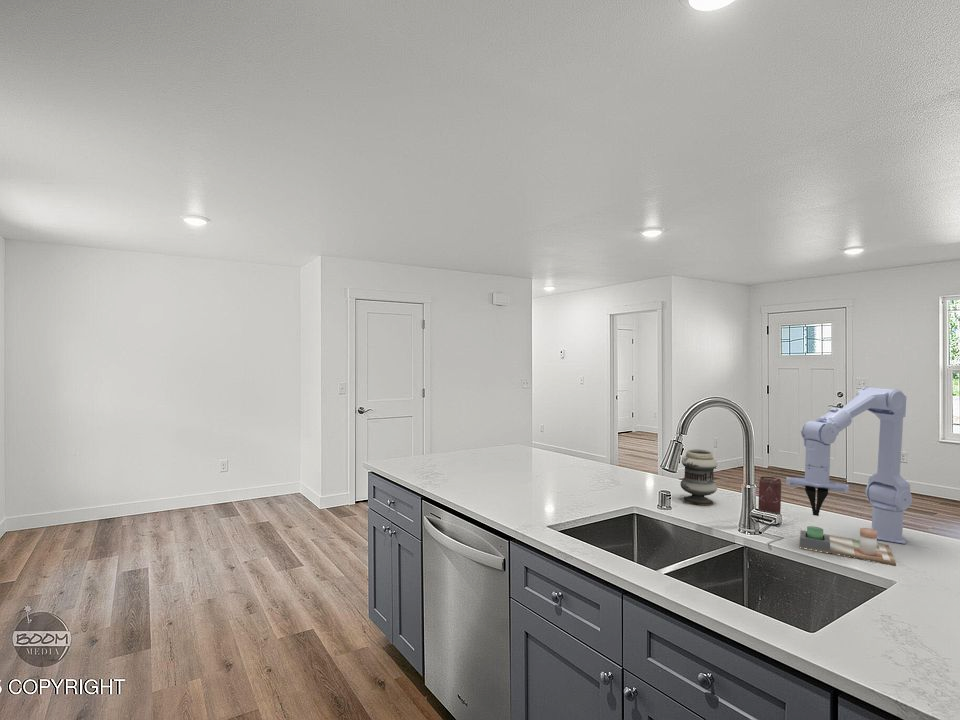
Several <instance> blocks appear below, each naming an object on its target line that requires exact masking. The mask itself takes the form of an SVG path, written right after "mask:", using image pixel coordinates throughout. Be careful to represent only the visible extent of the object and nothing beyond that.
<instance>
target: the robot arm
mask: <svg viewBox="0 0 960 720" xmlns="http://www.w3.org/2000/svg"><path fill="white" fill-rule="evenodd" d="M906 410H907V395H905V393H904V392H903V391H902V390H901V389H899V388H893V389H892V388H881V387H880V388H879V387H869V386H864V387H862V388H860V389H859V390H857V392H856V396H855V397H854V398H853V399H851V400H850V401H849V402H848V403H846V404H845V405H844V406H842V407H832V408H830V409H829V411H828V412H827V413H825V414H823V415H822V416H819V417H818V418H817V419H816V420H809V421H807V422H806V423H805V424H804V425H803V426H802V429H801V430H800V434H801V435H800V436H801V438H802V439H803V446H804V447H805V462H804V463H805V464H804V466H805V467H804V477H790V476H786V479H785V480H786V481H785V485H786V486H794V487H801V488H802V487H803V488H805V489H804V491H805V493H806V495H807V497H808V498H807V499H808V500H809V502H810V507H811V509H812V510H811V511H812V516H815V517H819V516H820V511H821V507H822V505H823V503H824V502H825V499H826V498H827V496H828V494H829V491H834V492H842V493H845V494H849V492H850V486H849V484H846V483H839V482H834V481H830V470H831V469H830V468H831V464H830V463H831V444H834V443H835V441H836V439H837V437H838V435H839V434H840V433H841V432H842V431H843V430H845V429H847V427H849V426H851V424H852V421H853V419H854V418H855V417H857V416H858V415H861V414H862V413H864V412H866V411H868V412H870V413H871V414H874V415H875V416H876V417H877V418H878V419H879V420H880V421H879V436H878V437H879V438H878V454H877V455H878V456H877V457H878V458H877V471H876V473H874V474H872V475H870V476H869V477H868V483H867V485H866V487H865V492H864V493H865V497H866V499H867V501H869V505H871V506H872V510H871V511H872V512H871V528H870V527H869V528H868V529H873V530H876V531H877V541H878V540H879V541H885V542H891V543H897V544H904V545H905V544H906V540H905V538H904V536H903V532H904V531H903V530H904V526H903V525H904V511H907V509H909V508H910V506H911V505H912V502H913V496H912V493H911V484H910V483H909V482H908V481H907V480H906V479H905V478H904V477H903V476H901V464H902V463H901V461H902V459H901V458H902V447H903V446H902V445H903V428H904V418H905V417H906V412H907V411H906Z"/></svg>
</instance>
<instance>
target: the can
mask: <svg viewBox="0 0 960 720" xmlns="http://www.w3.org/2000/svg"><path fill="white" fill-rule="evenodd" d="M781 501H782V480H781V478H779V477H774V476H761V477H759V481H758V505H757V506H758V509H757V510H760V511H765V512H771V513H775V514H780V515H781V510H782V509H781V508H782V507H781V506H782V505H781V504H782V502H781Z"/></svg>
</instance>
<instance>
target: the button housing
mask: <svg viewBox="0 0 960 720" xmlns="http://www.w3.org/2000/svg"><path fill="white" fill-rule="evenodd" d="M800 531H801V530H800ZM806 531H807V530H803V531H801V535H799V547H800V546H801V547H807V548H813V549H818V550H824V551H829V552H830V537H829V535H830V534H827V535H824V534H825V533H823V540H819V539H814V538H808V537H807V532H806Z"/></svg>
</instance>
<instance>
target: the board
mask: <svg viewBox="0 0 960 720" xmlns="http://www.w3.org/2000/svg"><path fill="white" fill-rule="evenodd" d="M801 531H804V530H802V529H801V530H800V532H799V533H800V535H801ZM805 531H806V532H807V530H805ZM823 534H824V535H829V537H830V552H829V551H824V550H818V549H813V548H807V547H801V546H800V545H799V548H800V547H801V548H807V549H812V550H817V551H822V552H828V553H833V554H840V555H845V556H850V557H855V558H860V559H859V560H861V559H865V560H864V561H866V560H870V561H869V562H872V561H875V562H874V563H877V562H880V563H879V564H883V563H884V565H888V564H889V565H888V566H894V567H896V566H897V562H896V560H895V558H894V555H893V552H892V550H891V547H890V545H889V544H886V543H880V542H877V548H876V555H867V554H863V553H861V552H860V539H858V538H857V539H856V538H853V537H852V538H850V537H845V536H838V535H831V534H826V533H823ZM800 535H799V536H800ZM822 552H821V553H822ZM833 554H832V555H833ZM850 557H849V558H850ZM855 558H854V559H855Z"/></svg>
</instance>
